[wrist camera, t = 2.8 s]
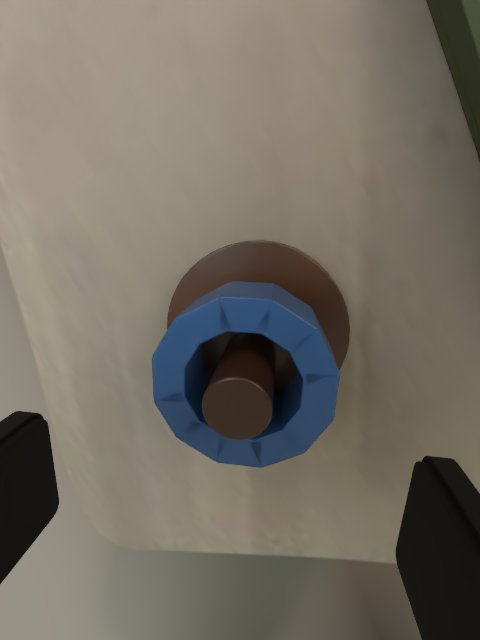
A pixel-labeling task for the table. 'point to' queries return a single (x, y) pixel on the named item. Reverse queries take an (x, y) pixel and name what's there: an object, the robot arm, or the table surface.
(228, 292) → the ring
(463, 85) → the tray
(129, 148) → the table surface
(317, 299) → the stand
